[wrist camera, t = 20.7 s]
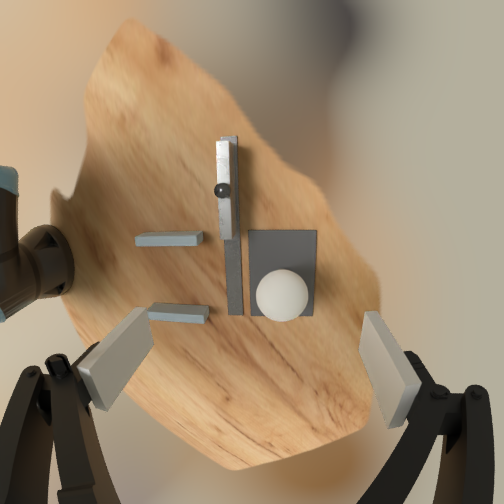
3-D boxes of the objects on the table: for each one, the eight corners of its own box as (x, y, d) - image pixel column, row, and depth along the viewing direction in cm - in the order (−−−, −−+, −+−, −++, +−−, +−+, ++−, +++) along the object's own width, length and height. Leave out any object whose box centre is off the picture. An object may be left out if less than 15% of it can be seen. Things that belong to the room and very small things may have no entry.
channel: (155, 310, 47) (147, 319, 43) (144, 232, 43) (134, 236, 40) (209, 313, 46) (204, 323, 42) (202, 230, 42) (196, 235, 39)
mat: (251, 314, 45) (250, 315, 45) (248, 230, 41) (248, 230, 41) (312, 315, 44) (312, 316, 44) (316, 229, 40) (316, 230, 40)
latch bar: (225, 232, 41) (216, 241, 36) (221, 145, 38) (212, 140, 32) (238, 232, 41) (231, 241, 36) (235, 144, 38) (228, 139, 32)
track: (228, 314, 45) (228, 314, 45) (220, 137, 38) (220, 136, 38) (243, 314, 45) (242, 315, 45) (237, 136, 38) (236, 135, 38)
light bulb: (310, 265, 42) (321, 293, 31) (291, 302, 43) (294, 338, 33) (270, 247, 41) (268, 270, 31) (253, 285, 43) (244, 318, 33)
